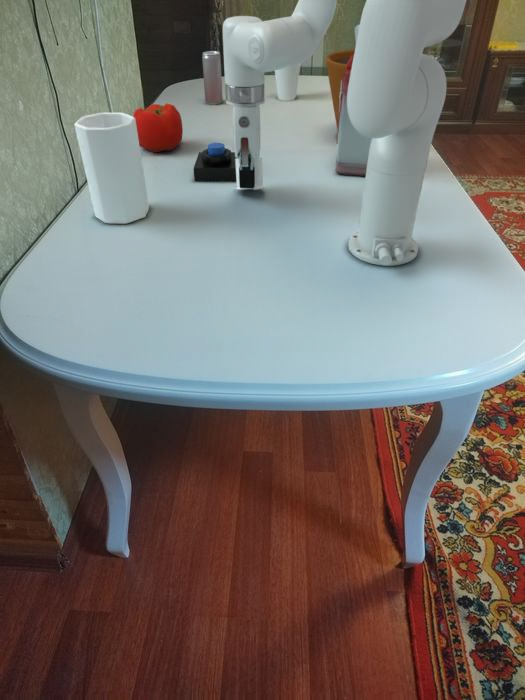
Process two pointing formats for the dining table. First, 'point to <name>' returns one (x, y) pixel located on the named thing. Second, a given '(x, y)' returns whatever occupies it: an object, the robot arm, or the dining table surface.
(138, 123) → the tomato
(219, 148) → the button
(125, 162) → the cup
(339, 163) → the bottle
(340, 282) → the dining table surface
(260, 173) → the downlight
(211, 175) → the base
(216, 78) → the beverage can
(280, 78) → the foam cup
